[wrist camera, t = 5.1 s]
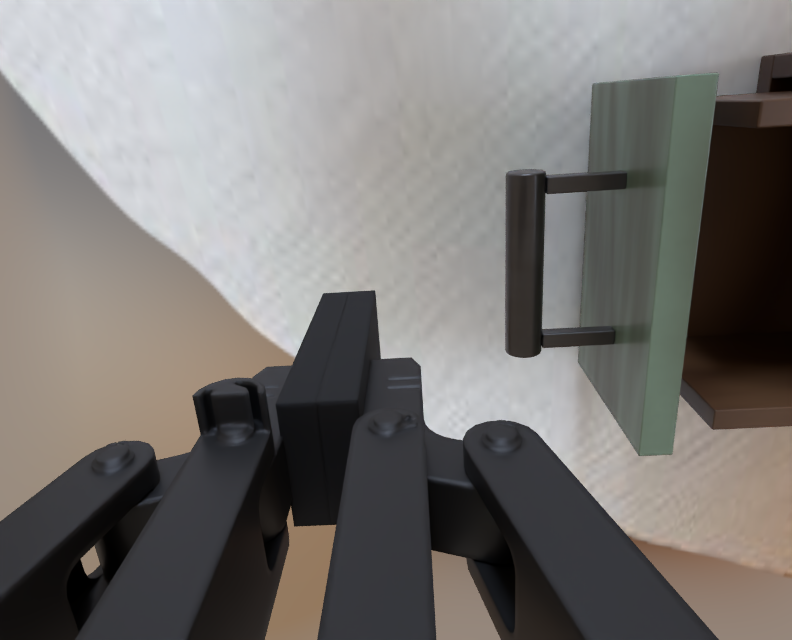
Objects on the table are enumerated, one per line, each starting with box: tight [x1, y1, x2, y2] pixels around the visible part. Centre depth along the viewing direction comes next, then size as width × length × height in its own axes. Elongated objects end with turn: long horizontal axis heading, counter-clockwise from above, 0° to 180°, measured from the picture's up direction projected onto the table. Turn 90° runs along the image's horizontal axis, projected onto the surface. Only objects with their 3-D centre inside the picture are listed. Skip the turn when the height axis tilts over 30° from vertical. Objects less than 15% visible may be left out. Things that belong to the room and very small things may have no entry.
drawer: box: [505, 73, 792, 456], centre depth 22 cm, size 18×13×8 cm
